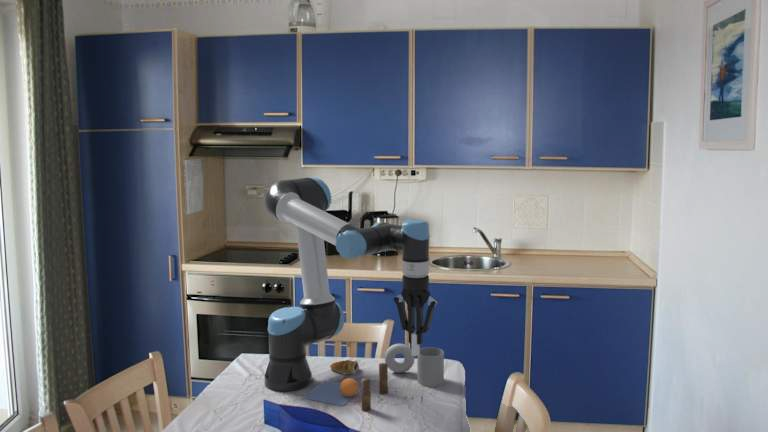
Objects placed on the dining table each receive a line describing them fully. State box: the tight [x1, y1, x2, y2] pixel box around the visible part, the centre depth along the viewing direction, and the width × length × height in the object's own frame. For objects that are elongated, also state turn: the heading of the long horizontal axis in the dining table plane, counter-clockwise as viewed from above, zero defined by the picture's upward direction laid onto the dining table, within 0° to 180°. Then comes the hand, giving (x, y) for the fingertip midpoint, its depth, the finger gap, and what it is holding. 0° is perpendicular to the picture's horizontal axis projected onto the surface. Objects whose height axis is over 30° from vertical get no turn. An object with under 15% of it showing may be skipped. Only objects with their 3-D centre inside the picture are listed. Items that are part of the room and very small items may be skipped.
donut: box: [384, 343, 416, 374], centre depth 219 cm, size 10×4×10 cm, turn 86°
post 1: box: [360, 377, 372, 412], centre depth 192 cm, size 3×3×9 cm
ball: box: [340, 377, 359, 397], centre depth 202 cm, size 6×6×6 cm
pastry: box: [329, 359, 360, 376], centre depth 222 cm, size 9×7×4 cm
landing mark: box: [302, 380, 361, 407], centre depth 204 cm, size 14×14×1 cm
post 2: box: [378, 362, 389, 395], centre depth 204 cm, size 3×3×9 cm
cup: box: [416, 346, 445, 388], centre depth 212 cm, size 8×8×10 cm
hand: (415, 354), depth 191 cm, fingers closed
